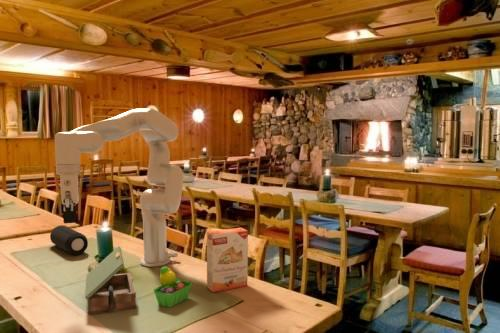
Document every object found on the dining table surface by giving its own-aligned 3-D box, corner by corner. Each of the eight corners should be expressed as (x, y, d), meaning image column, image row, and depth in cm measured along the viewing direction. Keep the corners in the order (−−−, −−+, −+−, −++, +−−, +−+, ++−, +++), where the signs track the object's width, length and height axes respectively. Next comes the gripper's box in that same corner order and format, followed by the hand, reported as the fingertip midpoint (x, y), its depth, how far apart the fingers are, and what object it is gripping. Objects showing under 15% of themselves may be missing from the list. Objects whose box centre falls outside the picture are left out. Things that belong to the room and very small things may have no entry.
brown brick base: (131, 285, 153) (131, 272, 153) (136, 308, 135) (136, 293, 134) (89, 291, 148) (89, 277, 148) (88, 315, 130) (87, 299, 129)
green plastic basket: (170, 310, 133) (169, 275, 132) (149, 303, 138) (149, 270, 137) (193, 297, 143) (192, 265, 142) (173, 292, 148) (172, 261, 147)
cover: (120, 247, 151) (117, 244, 151) (124, 265, 132) (120, 262, 131) (88, 276, 148) (85, 273, 148) (87, 299, 129) (83, 296, 128)
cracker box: (212, 293, 146) (212, 234, 144) (206, 287, 152) (205, 230, 150) (248, 286, 153) (248, 230, 151) (241, 281, 158) (241, 226, 156)
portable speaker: (90, 253, 192) (89, 232, 191) (67, 258, 186) (67, 236, 185) (69, 242, 211) (68, 222, 210) (48, 246, 204) (47, 226, 203)
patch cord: (112, 286, 150) (112, 283, 150) (114, 309, 131) (114, 305, 131) (108, 287, 149) (108, 283, 149) (110, 310, 131) (109, 305, 131)
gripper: (78, 171, 133) (80, 224, 134) (82, 166, 149) (83, 214, 151) (52, 172, 130) (55, 226, 132) (58, 167, 147) (60, 215, 148)
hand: (70, 219), depth 141 cm, fingers open, 9 cm apart
